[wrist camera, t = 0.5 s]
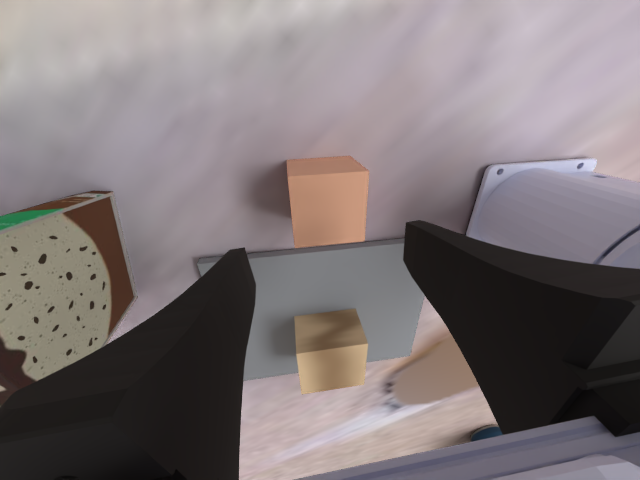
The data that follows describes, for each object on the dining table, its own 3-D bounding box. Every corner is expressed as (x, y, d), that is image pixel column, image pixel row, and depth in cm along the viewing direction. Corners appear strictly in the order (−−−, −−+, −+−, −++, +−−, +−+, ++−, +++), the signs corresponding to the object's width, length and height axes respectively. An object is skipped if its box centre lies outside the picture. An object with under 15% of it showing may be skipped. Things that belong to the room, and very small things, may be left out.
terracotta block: (349, 155, 17) (369, 170, 13) (348, 213, 19) (364, 241, 16) (286, 159, 17) (287, 176, 13) (292, 218, 19) (294, 247, 15)
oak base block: (355, 308, 24) (368, 343, 20) (353, 347, 27) (364, 384, 23) (294, 316, 23) (296, 353, 20) (299, 355, 26) (301, 394, 23)
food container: (-12, 153, 14) (-465, 230, 6) (108, 169, 15) (-112, 251, 7) (57, 307, 20) (-115, 461, 11) (140, 309, 21) (43, 450, 13)
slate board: (433, 235, 21) (438, 239, 21) (406, 350, 29) (409, 355, 29) (199, 258, 19) (196, 264, 19) (239, 374, 27) (238, 381, 27)
